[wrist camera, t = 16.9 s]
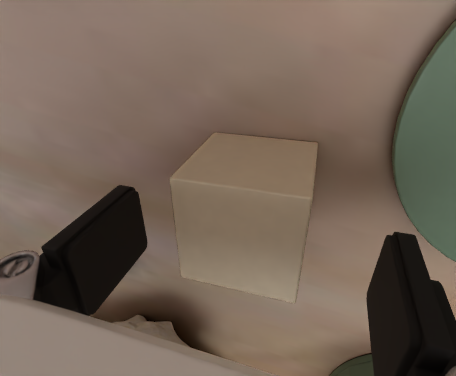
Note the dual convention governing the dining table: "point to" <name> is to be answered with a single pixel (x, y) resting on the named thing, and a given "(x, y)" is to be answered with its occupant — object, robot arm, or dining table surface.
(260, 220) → the block
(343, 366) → the basket
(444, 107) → the basket lid
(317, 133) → the dining table surface
